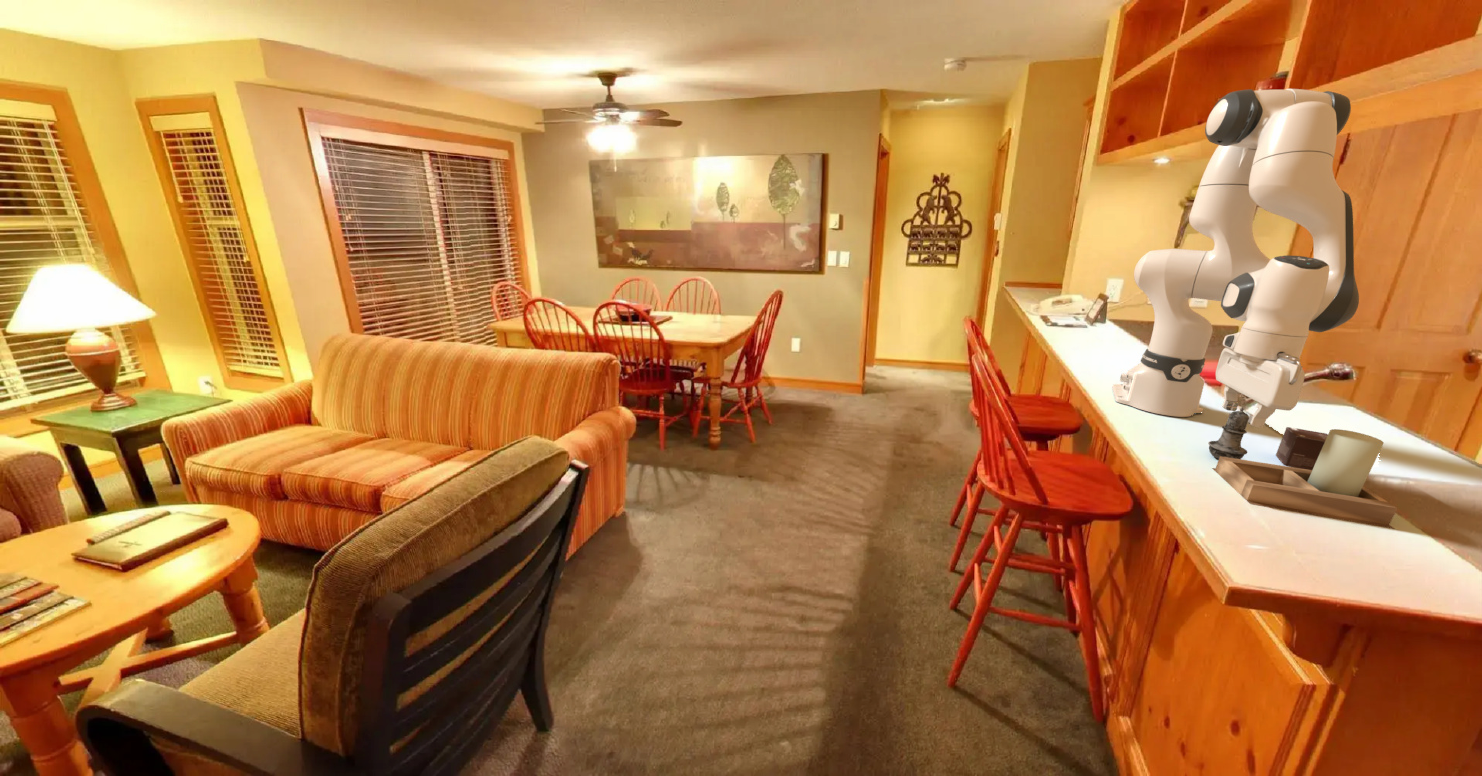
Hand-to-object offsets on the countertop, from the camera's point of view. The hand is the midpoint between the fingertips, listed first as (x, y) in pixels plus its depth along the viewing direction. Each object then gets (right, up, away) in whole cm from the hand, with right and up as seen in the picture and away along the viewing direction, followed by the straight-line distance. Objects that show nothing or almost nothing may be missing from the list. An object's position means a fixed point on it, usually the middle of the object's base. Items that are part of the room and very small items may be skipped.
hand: (1241, 417), depth 102 cm
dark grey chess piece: (0, -10, +4) cm, 10 cm away
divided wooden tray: (0, -14, -9) cm, 17 cm away
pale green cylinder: (+4, -14, -11) cm, 18 cm away
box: (+14, -11, +3) cm, 18 cm away
